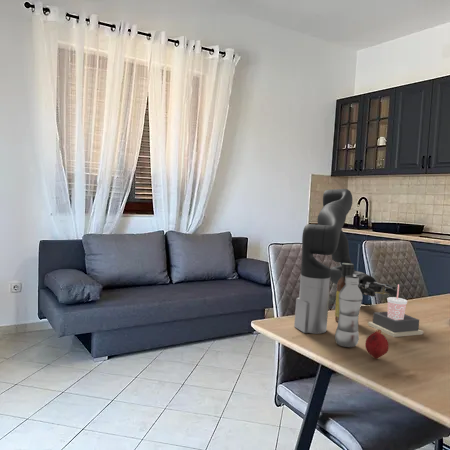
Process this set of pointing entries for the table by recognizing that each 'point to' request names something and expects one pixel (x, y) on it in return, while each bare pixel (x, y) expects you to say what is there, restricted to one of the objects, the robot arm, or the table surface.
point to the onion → (376, 344)
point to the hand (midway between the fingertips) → (385, 293)
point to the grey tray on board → (395, 325)
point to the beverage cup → (396, 307)
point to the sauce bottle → (342, 284)
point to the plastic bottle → (349, 313)
